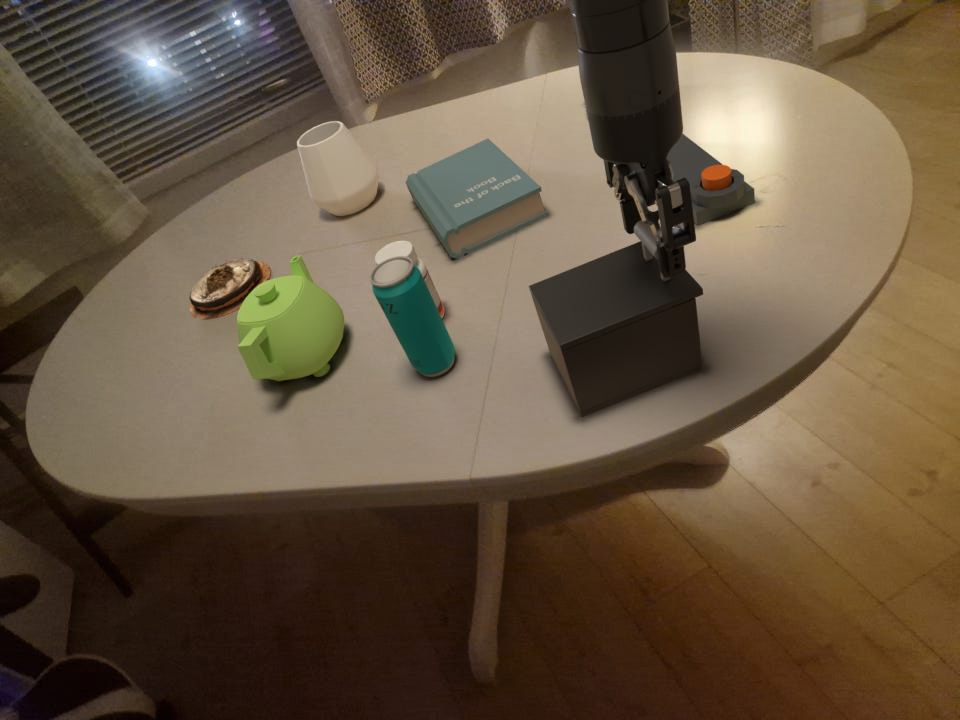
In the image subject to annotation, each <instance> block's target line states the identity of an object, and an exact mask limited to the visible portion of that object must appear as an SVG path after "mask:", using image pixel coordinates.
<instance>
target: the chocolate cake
mask: <svg viewBox="0 0 960 720" xmlns="http://www.w3.org/2000/svg"><path fill="white" fill-rule="evenodd" d="M270 279H271V267H270V266H269V265H268V263H266V262H263V261H260V260H254V259H253V258H249V257H248V258H247V259H245V258H243V257H238V258H237V257H236V258H233V259H227V260H225V263H222V264H219V265H218V266H217V263H216V264H215V265H214V266H212V267H211V268H210V269H208V271H206V272H205V273H204V274H202V275H201V276H200V277H199V278H198V279H197V281H196V282H195V284H194V285H193V287H192V288H191V290H190V293H189V297H188V299H189V302H190V305H189V310H190V313H191V315H192V316H193V317H195V318H197V319H199V320H212V319H217V318H220V317H221V318H222V317H224V316H226V315H228V314H231V313H233V312H235V311H237V310H239V309H240V307H241V305H242V303H243V301H244V300H245V299H246V297H247V296H248V295H249V294H250V293H251V291H252V290H253V289H255V288H256V287H257V286H258V285H260V284H261V283H263V282H265V281H267V280H270Z"/></svg>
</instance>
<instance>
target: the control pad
mask: <svg viewBox="0 0 960 720" xmlns="http://www.w3.org/2000/svg"><path fill="white" fill-rule="evenodd" d="M667 159H668V160H669V161H670V163H671V166H672V169H673V171H674V178H673V180H674V181H677V180H679V179H682V178H684V177H685V178H686V179H687V180H688V182H689V184H690V192H691V200H692V208H693V217H694V225H695V226H700V225H703V224H706V223H708V222H711V221H714V220H716V219H718V218H721V217H723V216H726V215H729V214H730V213H733V212H736V211H739V210H741V209H744V208H745V207H749V206H750V205H753V204H755V203H756V200H755V199H756V198H755V197H756V196H755V195H756V194H755V188H754V187H753V186H752V185H750V184H749V183H748V182H746V181H745V175H744V174H743V173H742V172H741V171H739V170H738V169H735V168H731V174H732V183H731V185H730V186H729V187H728V188H725V189H723V190H718V191H707V190H705V189H704V188H703V187H702V176H701V174H702V172H703V170H705V169H706V168H708V167H710V166H713V165H724V164H723V163H721V161H719V160H718V159H716V157H713V156H712V155H711V154H710V153H709V152H707V151H706V150H705V149H703V148H702V147H701V146H700V145H698V144H697V143H695V142H694V141H693V140H692V139H691V138H689V137H688V136H686V135H685V134H684V132H683V133H682V136H681V138H680V140H679V141H678V142H677V144H676V145H674V147H673V148H672V149H671V150H670V152H669V153H668V155H667Z"/></svg>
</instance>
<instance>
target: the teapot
mask: <svg viewBox="0 0 960 720" xmlns="http://www.w3.org/2000/svg"><path fill="white" fill-rule="evenodd" d="M289 265H290V274H291V275H284V276H278V277H275V278H269V280H267V281H265V282H263V283H261V284H260V285H258V286H257V287H256V288H255V289H253V290H252V291H251V293H250V294H249V295H248V296H247V297H246V299H245V300H244V301H243V303H242V305H241V307H240V308H239V309H238V312H237V316H236V327H237V336H238V341H239V344H238V345H237V349H238V351H239V354H240V355H241V357H242V359H243V361H244V363H245V366H246V368H247V370H248V372H249V374H250V376H251V378H252V380H261V379H262V380H263V379H264V380H265V379H268V380H272V381H276V382H282V381H289V380H297V379H300V378H305V377H308V376H310V375H313V376H314V377H316V378H319V377H323V376H325V375H326V374H327V373H328V372H330V369H331V365H330V363H328V362H330V360H331V359H332V358H333V356H335V354H336V352H337V351H338V349H339V347H340V344H341V342H342V340H343V338H344V330H345V315H344V311H343V309H342V307H341V306H340V304H339V303H338V302H337V300H336V298H334V297H333V296H332V295H331V294H330V293H329V292H327V291H326V290H325V289H324V288H323V287H321V286H320V285H319V284H317V283H315V282H314V279H313V278H312V276H311V272H310V271H309V269H308V267H307V265H306V262H305V261H304V258H303V256H302V255H301V254H299V255H294V256H293V257H292V258H291V260H290V261H289Z"/></svg>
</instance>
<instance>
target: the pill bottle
mask: <svg viewBox="0 0 960 720" xmlns="http://www.w3.org/2000/svg"><path fill="white" fill-rule="evenodd" d="M396 256H406V257H409V258H410V259H411V260H412V261H413V264H414V265H415V266H416V267H417V268H419V270H420V272H421V274H422V276H423V279H424V281H425V283H426V285H427V287H428V289H429V292H430V294H431V296H432V298H433V300H434V303H435V305H436V307H437V309H438V311H439V314H440V316H441V318H442V319H444V315H445V307H444V304H443V302H442V299H441V297H440V295H439V293H438V291H437V289H436V286H435V283H434V281H433V279H432V277H431V275H430V273H429V270H428V267H427V265H426V263H425V262H424V260H423V259H421V258H420V257H419V256H418V253H417V251H416V250H415V248H414V245H413V244H412V242H410V241H408V240H397V241H392V242H391V243H388V244H386V245H384V246H383V247H382V248H380V249H379V250H378V251H377V253H376V254H375V256H374V262H375V264H376V266H377V265H378V264H380V263H381V262H383V261H385V260H387V259H389V258H392V257H396Z"/></svg>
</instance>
